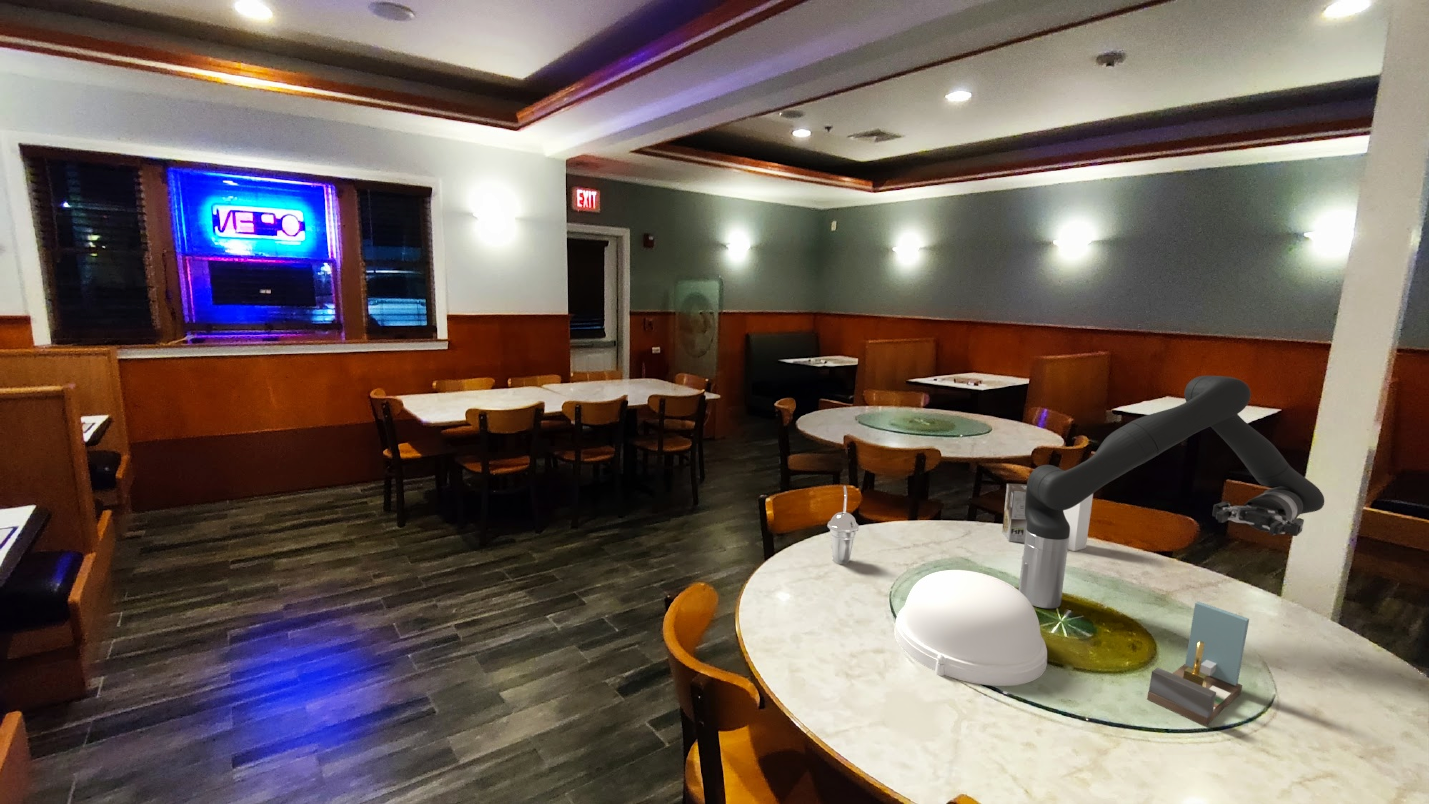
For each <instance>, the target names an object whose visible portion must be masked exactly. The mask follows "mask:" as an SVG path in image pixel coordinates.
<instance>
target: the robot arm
mask: <svg viewBox="0 0 1429 804" xmlns="http://www.w3.org/2000/svg"><path fill="white" fill-rule="evenodd" d="M1251 393H1252V392H1251V388H1250V387H1249V385H1248V384H1247V382H1244V381H1243V380H1241V379H1238V378H1235V377H1232V376H1222V375H1200V376H1196V377H1194V378H1193V379H1191V380H1190V381H1189V382H1188V383H1187V384H1186V387H1185V389H1184V399H1185V402H1184V403H1182V404H1180V405H1177V406H1174V407H1172V408H1171V407H1170V408H1168V409H1165V410H1161V411H1157V412H1154V413H1150V414H1147V415H1144V416H1141V417H1139V418H1136V419H1134V420H1132V421H1130V422H1127V423H1126V424H1125V425H1122V426H1121V427H1119V428H1118V429H1116V430H1114V431H1112V432H1111V433H1109V435H1107V436H1106V437H1105V439H1104V440H1103V441H1102V442H1101V444H1100V445H1099V447H1098V449H1097V450H1096V451H1095V452H1094V454H1093V455H1092V456H1090V457H1089V458H1088V459H1086V460H1085V461H1083V462H1081V463H1079V464H1077V465H1076V466H1073V467H1072V468H1069V469H1066V470H1064V469H1062V468H1060V467H1058V466H1055V465H1051V464H1042V465H1040V466H1037V467H1035V468H1034V469H1033V470H1032V471H1031V473H1029V474H1030V475H1029V476H1028V478H1027V483H1026V485H1027V487H1026V499H1025V518H1026V522H1027V527H1026V536H1025V543H1024V547H1023V554H1022V557H1021V567H1020V576H1019V585H1018V590H1019V591H1020V592H1021V593H1022V594H1023V595H1024V596H1025V597H1026V598H1027V599H1028V600H1029V602H1030V603H1031V604H1032V606H1033V607H1038V608H1042V609H1056V608H1059V607H1060V606H1061V604H1062V597H1063V588H1064V580H1065V574H1066V573H1065V572H1066V565H1067V556H1068V550H1069V549H1068V543H1069V535H1070V525H1069V523H1068V522H1067V520H1066V518H1065V515H1064V512H1063V510H1067V509H1070V508H1072V507H1074V506H1076V505H1077V504H1079V503H1080V502H1082V501H1083V500H1084V499H1086V498H1087V497H1089V496H1090V495H1091V494H1093V495H1094V493H1095V492H1097V491H1098V490H1100V489H1101V488H1102V487H1104V486H1105V485H1107V484H1109V483H1110V482H1112V481H1114V480H1116V479H1117V478H1119V477H1121V476H1123V475H1124V474H1126V473H1128V472H1129V471H1132V470H1133V469H1134V468H1137V467H1138V466H1141V465H1142V464H1145V463H1147V462H1148V461H1151V460H1153V458H1156V456H1159V455H1160V454H1162V453H1163V452H1165V451H1167V450H1169V449H1170V448H1172V447H1174V446H1176V445H1177V444H1179V443H1181V442H1183V441H1184V440H1187V439H1188V438H1190V437H1191V436H1193V435H1195V434H1196V433H1199V432H1201V431H1203V430H1205V429H1207V428H1209V427H1211V428H1212V430H1214V432H1216V434H1217V435H1219V437H1220V438H1221V439H1223V441H1224V442H1225V443H1226V444H1227V445H1228V446H1229V447H1230V449H1232V451H1233V452H1234V453H1235V454H1236V456H1237V457H1238V458H1239V460H1241V462H1242V463H1243V464H1244V466H1245V467H1246V469H1247V470H1248V471H1249V473H1250V474H1251V475H1252V476H1253V477H1254V479H1255V480H1256V481H1257V482H1258V483H1259V484H1260V485H1261V486H1264V487H1272V488H1269V489H1266V490H1265V491H1263V493H1261V494H1259V495H1256V496H1255V497H1253V498H1251V499H1249V500H1247V501H1246V503H1244V505H1233V506H1231V502H1229V501H1221V502H1219V503H1215V504H1213V509H1212V517H1214V518H1215V520H1217V523H1225V522H1227V521H1231V522H1234V523H1237V524H1238V523H1239V524H1247V525H1249V526H1251V527H1252V528H1254V529H1256V530H1258V531H1261V532H1269V533H1268V535H1270V536H1275V535H1284V534H1286V533H1288V535H1289V536H1292V537H1297V536H1299V534H1301V533H1302V532H1303V528H1304V523H1305V518H1304V519H1303V518H1301V517H1299V516H1300V515H1302V514H1308V513H1315V512H1319V511H1321V510H1322V508H1323V507H1324V505H1325V497H1324V494H1323V492H1322V491H1321V490H1320V489H1319V487H1318V486H1316V484H1314V482H1311V481H1310V480H1309V479H1307V477H1304V476H1303V475H1302V474H1301V473H1299V472H1298V471H1297V470H1295V469H1294V468H1293V467H1292V466H1291V465H1290V464H1289V462H1287V460H1286V459H1285V458H1284V456H1283V455H1282V454H1281V452H1280V451H1279V450H1278V449H1277V448H1276V446H1275V445H1274V444H1273V443H1272V442H1271V441H1269V439H1267V438H1266V437H1265V436H1264V435H1262V434H1261V433H1260V432H1259V431H1258V430H1256V429H1254V427H1252V426H1251V425H1249V424H1248V423H1247V422H1246V421H1245V420H1244V419H1243V418H1242V417H1241V416H1240V415H1239V413H1241V412H1242V411H1243V410H1244V409H1245V408H1246V407H1247V406H1248V404H1249V403H1250V400H1251V397H1252V394H1251ZM1230 513H1231V515H1230ZM1229 515H1230V516H1229Z"/></svg>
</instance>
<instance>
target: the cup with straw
mask: <svg viewBox="0 0 1429 804" xmlns="http://www.w3.org/2000/svg"><path fill="white" fill-rule="evenodd" d="M843 494H844V498H843V499H844V500H843V511H841V512H840V511H839V512H837V513H835V514H834V515H833V516H832V518H831V519H830V520H829V521H828V522H827V525H826V526H827V528H828V529H829V531H830V536H831V540H830V541H831V554H832V555H831V556H832V562H833V563H835V564H838V565H847V564H849V563H850V559H851V555H852V550H853V546H854V545H853V544H854V540H855V536H856V533H857V532H858V531H859V530H860V527H859V526H860V525H859V524H858V523H857V522H856V518H855V517H854V516H853V515H852V513H849V512H847V503H848V491H847V486H846V485H843Z"/></svg>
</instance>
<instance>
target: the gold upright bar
mask: <svg viewBox="0 0 1429 804" xmlns="http://www.w3.org/2000/svg"><path fill="white" fill-rule="evenodd" d="M1203 649H1204V642H1202V641H1198V642H1197V649H1196V655H1195V661H1194V667H1193V669H1192V668H1190V667H1188V668H1187V669H1185V670H1184V676H1183V678H1184V679H1186V680H1189V681H1191V682H1193V683H1196V684H1198V685H1200V686H1203V687H1206V683H1207V677H1208V675H1207V674H1204V673H1202V672H1200V667H1201V661H1202V655H1203Z"/></svg>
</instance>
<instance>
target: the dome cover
mask: <svg viewBox="0 0 1429 804" xmlns="http://www.w3.org/2000/svg"><path fill="white" fill-rule="evenodd" d="M893 633H894V637H895V640H896V642H897V644H898V646H899V647H900V648H901V649H902V650H903V652H905V653H906V654H907V655H908V656H909V657H910V658H912V659H913V660H915V661H917V663H919V664H921V665H923V666H924V667H926V668H928V669H931V671H934V673H935V675H936V676H939V677H944V676H947V677H950V678H952V679H956V680H960V681H964V682H967V683H973V684H978V685H985V686H994V687H995V686H997V687H998V686H999V687H1005V686H1006V687H1009V686H1011V687H1012V686H1019V685H1024V684H1027V683H1030V682H1033V681H1035V680H1037V679H1038V678H1040V677H1041V676H1042V675H1043V674H1044V673H1045V671H1046V670H1047V664H1048V649H1047V645H1046V642H1045V639H1044V637H1042V635H1041V626H1040V621H1039V618H1038V615H1037V613H1036V609H1035V608H1034V606H1033V605H1032V604H1031V603H1030V602H1029V600H1028V599H1027V598H1026V597H1025V596H1024V595H1023V594H1022V593H1021V592H1020V591H1019V589H1018V588H1016V587H1014V586H1013V585H1012V584H1010V583H1008V582H1007V581H1004V580H1002V579H1000V578H997V577H996V576H992V575H989V574H985V573H981V572H977V571H973V570H963V569H949V570H947V569H946V570H941V571H940V570H939V571H936V572H932V573H930V574H927V575H926V576H923V577H922V578H920V579H919V580H918V581H917V582H916V583H915V584H914V585H913V587H912V588H911V590H910V592H909V594H908V596H907V597H906V601H905V604H904V605H903V607H902V608H901V609H900V610H899V612H898V614H897V616H896V619H895V623H894V631H893Z"/></svg>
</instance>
